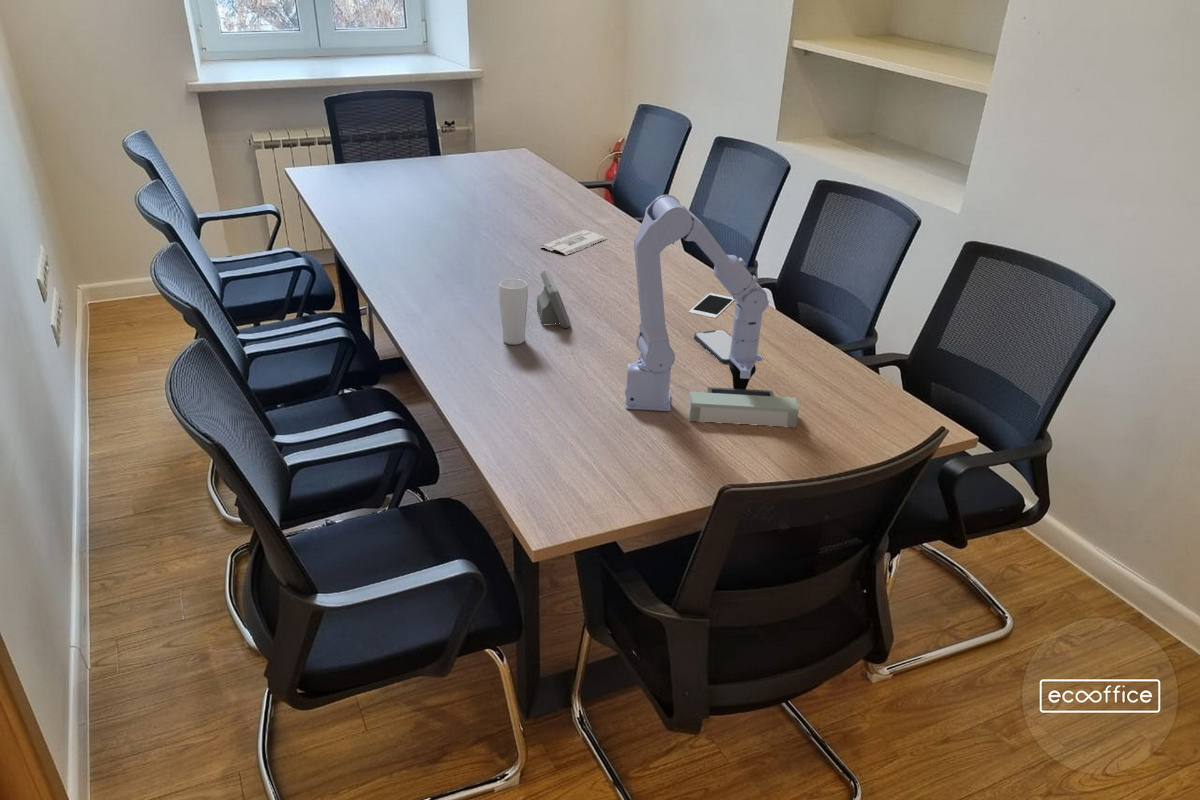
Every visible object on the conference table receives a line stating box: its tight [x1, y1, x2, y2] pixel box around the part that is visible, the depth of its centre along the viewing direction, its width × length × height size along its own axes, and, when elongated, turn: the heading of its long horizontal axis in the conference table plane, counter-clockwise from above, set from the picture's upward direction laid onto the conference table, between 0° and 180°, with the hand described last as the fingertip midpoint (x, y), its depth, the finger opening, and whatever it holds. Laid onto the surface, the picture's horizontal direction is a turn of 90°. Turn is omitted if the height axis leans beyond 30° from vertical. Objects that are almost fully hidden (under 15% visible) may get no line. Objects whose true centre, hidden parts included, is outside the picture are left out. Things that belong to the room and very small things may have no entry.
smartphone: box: [693, 329, 732, 364], centre depth 214 cm, size 9×2×16 cm
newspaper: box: [542, 229, 608, 255], centre depth 280 cm, size 23×12×2 cm, turn 143°
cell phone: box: [688, 292, 736, 319], centre depth 238 cm, size 8×16×1 cm, turn 153°
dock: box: [688, 391, 800, 428], centre depth 183 cm, size 22×6×4 cm, turn 86°
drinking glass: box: [498, 278, 529, 346], centre depth 210 cm, size 7×7×15 cm
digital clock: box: [536, 270, 571, 329], centre depth 225 cm, size 16×9×11 cm, turn 1°
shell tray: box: [706, 386, 775, 397], centre depth 187 cm, size 14×8×3 cm, turn 86°
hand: (738, 393), depth 191 cm, fingers closed
